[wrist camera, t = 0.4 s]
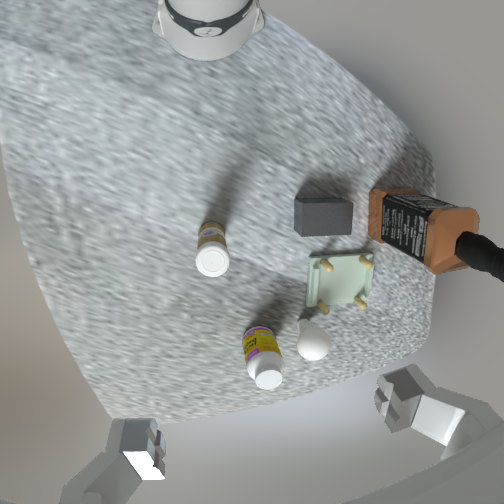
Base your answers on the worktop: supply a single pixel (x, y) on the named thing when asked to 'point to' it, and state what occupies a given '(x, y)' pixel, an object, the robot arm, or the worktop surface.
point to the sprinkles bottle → (212, 250)
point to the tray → (339, 280)
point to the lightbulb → (312, 341)
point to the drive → (323, 216)
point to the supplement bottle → (263, 357)
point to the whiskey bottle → (432, 231)
